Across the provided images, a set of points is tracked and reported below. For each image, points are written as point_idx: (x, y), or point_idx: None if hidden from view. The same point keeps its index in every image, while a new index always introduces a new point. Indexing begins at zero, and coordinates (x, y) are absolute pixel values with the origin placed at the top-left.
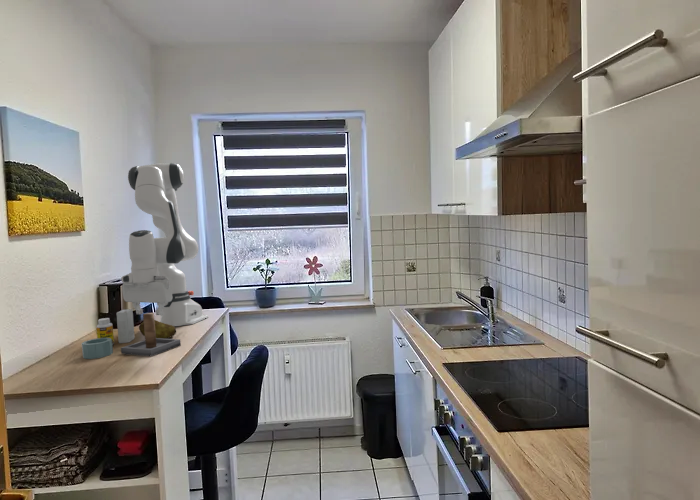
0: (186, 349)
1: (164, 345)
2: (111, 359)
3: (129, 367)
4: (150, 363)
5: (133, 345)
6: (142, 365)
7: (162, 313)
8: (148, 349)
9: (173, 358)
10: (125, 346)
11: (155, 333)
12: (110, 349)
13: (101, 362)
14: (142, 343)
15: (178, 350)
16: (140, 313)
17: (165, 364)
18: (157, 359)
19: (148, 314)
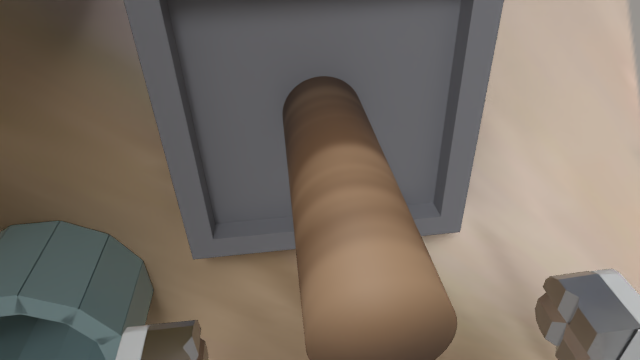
0: (607, 21)
1: (478, 127)
2: (252, 300)
3: (462, 329)
4: (526, 275)
5: (202, 183)
6: (505, 300)
7: (615, 276)
8: (435, 229)
9: (609, 193)
10: (191, 232)
11: (378, 143)
12: (127, 277)
13: (251, 336)
14: (184, 98)
15: (554, 61)
16: (202, 351)
17: (613, 263)
18: (523, 229)
19: (420, 358)
